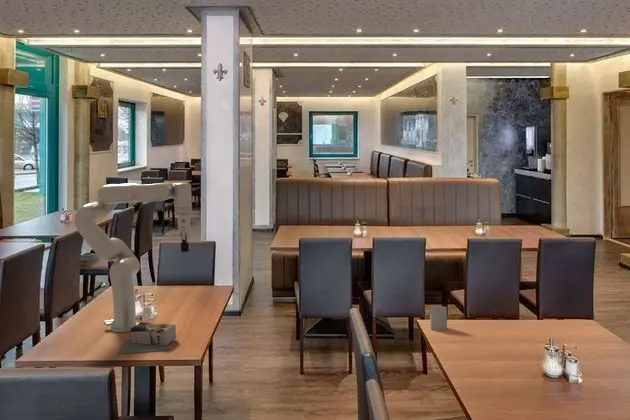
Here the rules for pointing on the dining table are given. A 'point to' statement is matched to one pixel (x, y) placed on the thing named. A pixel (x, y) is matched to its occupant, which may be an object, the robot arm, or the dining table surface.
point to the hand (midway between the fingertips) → (185, 251)
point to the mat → (140, 347)
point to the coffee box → (153, 333)
